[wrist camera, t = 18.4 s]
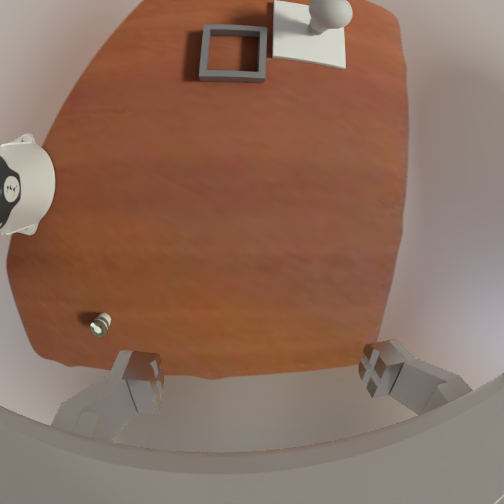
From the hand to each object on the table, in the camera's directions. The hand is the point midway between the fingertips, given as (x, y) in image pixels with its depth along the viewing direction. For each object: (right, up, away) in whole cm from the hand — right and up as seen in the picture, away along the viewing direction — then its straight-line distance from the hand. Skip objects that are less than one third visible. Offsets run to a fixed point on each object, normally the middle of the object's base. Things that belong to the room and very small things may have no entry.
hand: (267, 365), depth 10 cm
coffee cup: (-28, -8, +36) cm, 47 cm away
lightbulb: (+9, +40, +23) cm, 47 cm away
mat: (+9, +40, +24) cm, 47 cm away
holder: (-3, +34, +24) cm, 42 cm away
